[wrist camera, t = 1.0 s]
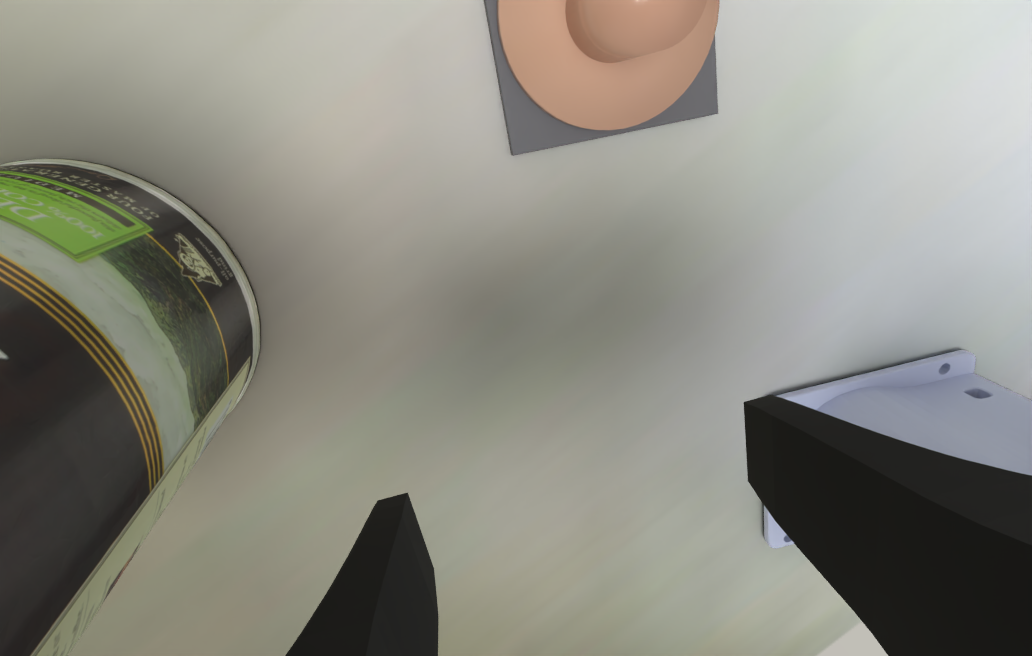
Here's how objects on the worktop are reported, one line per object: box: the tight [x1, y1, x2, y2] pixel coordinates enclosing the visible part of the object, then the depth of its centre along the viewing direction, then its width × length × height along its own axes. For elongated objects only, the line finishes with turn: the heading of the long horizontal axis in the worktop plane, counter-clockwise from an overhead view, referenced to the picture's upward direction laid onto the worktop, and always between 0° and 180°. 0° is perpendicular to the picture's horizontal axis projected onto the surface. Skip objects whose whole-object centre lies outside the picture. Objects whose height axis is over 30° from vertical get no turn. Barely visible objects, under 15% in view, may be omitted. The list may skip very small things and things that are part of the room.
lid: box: [497, 0, 719, 130], centre depth 15 cm, size 7×7×4 cm
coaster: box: [484, 0, 718, 155], centre depth 17 cm, size 7×7×1 cm
